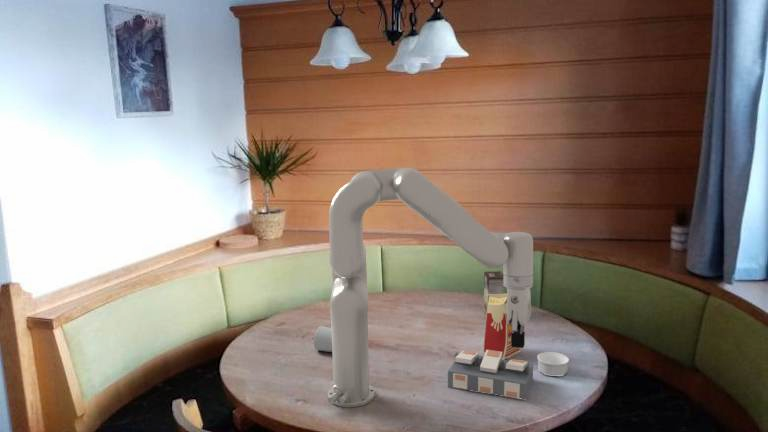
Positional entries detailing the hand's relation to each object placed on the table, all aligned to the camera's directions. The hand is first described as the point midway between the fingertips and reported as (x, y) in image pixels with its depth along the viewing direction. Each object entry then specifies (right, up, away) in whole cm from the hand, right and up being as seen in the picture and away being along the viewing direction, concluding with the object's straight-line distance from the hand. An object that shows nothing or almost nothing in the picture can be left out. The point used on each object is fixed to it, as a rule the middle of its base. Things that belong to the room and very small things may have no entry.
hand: (517, 346), depth 153 cm
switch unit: (-6, -12, +7) cm, 15 cm away
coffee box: (+5, -3, +61) cm, 61 cm away
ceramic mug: (-53, -9, +33) cm, 63 cm away
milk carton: (+1, -9, +28) cm, 30 cm away
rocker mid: (-6, -6, +6) cm, 10 cm away
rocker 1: (-12, -5, +9) cm, 16 cm away
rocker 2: (0, -6, +4) cm, 7 cm away
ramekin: (+13, -11, +14) cm, 23 cm away
